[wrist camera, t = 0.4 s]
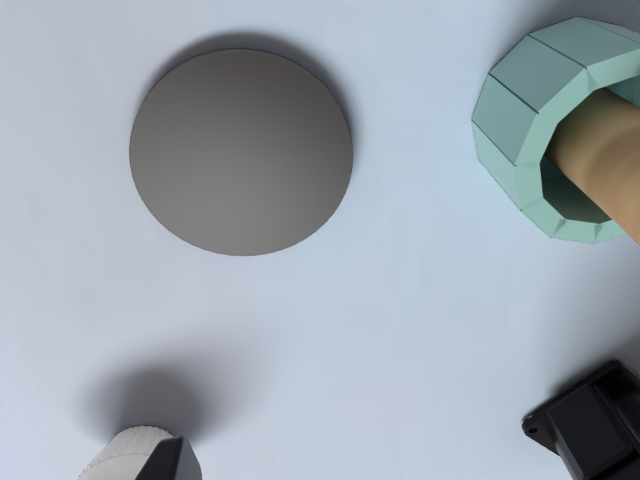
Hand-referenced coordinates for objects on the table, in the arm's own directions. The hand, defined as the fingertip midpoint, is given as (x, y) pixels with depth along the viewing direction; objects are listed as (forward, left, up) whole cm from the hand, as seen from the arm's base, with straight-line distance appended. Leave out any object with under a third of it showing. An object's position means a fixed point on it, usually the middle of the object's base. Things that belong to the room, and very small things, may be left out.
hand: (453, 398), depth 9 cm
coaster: (+2, +4, -13) cm, 14 cm away
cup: (-6, -5, -13) cm, 16 cm away
